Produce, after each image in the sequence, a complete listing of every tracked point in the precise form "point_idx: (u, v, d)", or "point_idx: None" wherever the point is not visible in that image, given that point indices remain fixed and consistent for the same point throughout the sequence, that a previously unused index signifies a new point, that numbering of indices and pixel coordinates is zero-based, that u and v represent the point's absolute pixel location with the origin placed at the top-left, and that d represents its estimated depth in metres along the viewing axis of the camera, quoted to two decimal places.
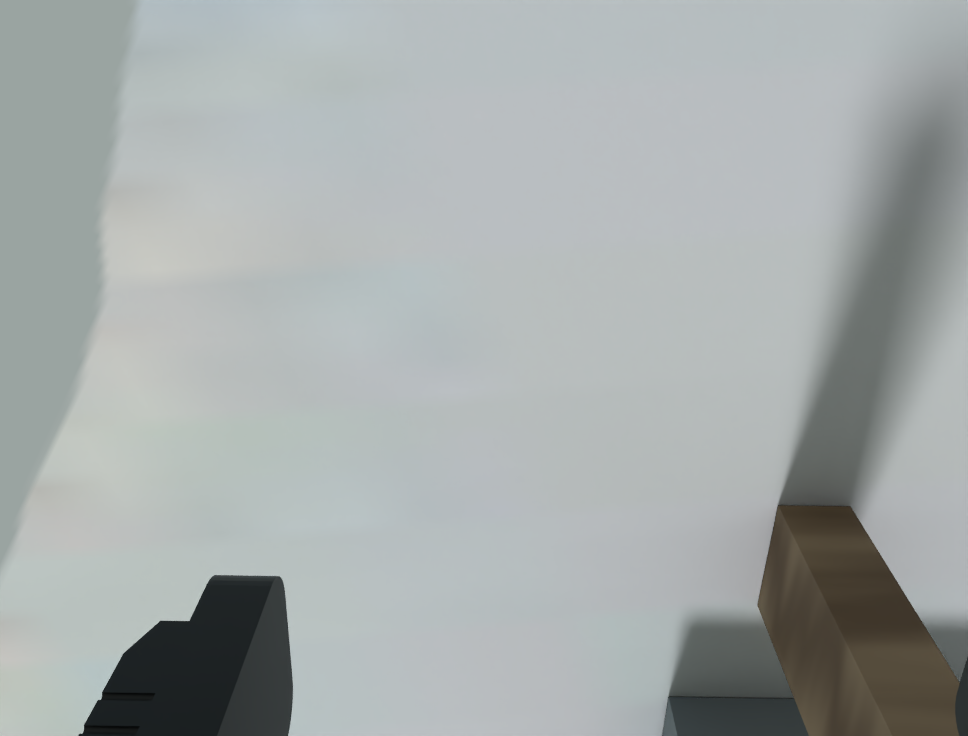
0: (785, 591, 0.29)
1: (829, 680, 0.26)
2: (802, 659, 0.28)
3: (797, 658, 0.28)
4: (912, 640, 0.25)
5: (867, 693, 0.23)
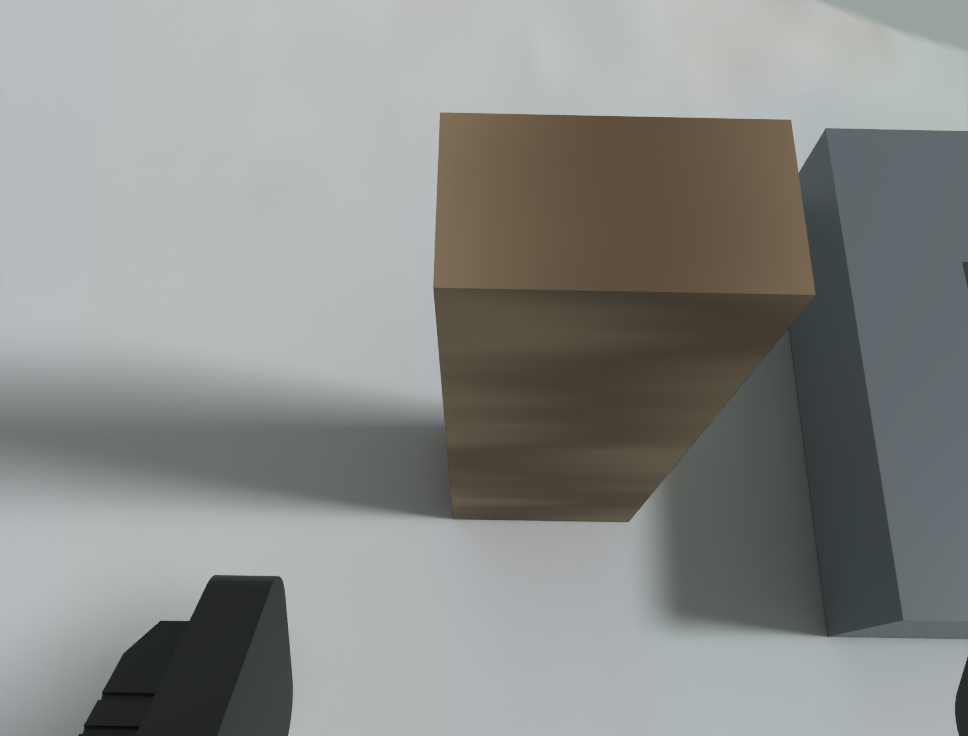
0: (539, 502, 0.20)
1: (542, 453, 0.17)
2: (584, 478, 0.18)
3: (598, 483, 0.19)
4: None
5: (455, 419, 0.15)
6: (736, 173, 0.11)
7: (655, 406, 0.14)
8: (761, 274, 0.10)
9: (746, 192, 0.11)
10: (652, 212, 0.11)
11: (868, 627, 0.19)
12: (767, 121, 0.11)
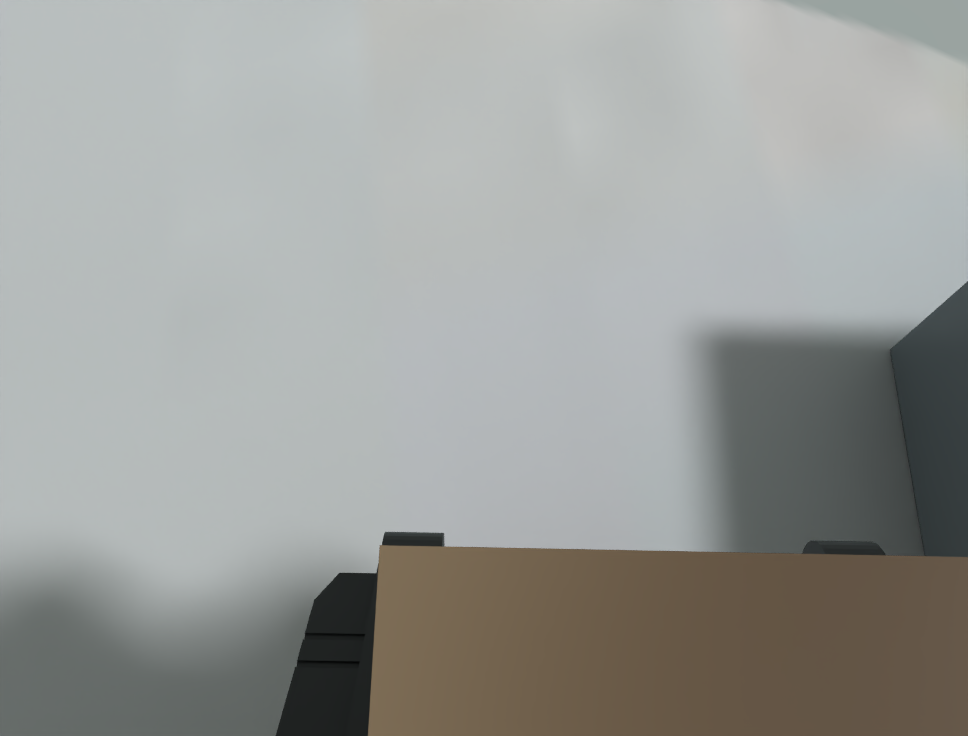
0: None
1: None
2: None
3: None
4: None
5: None
6: None
7: None
8: None
9: None
10: None
11: None
12: None
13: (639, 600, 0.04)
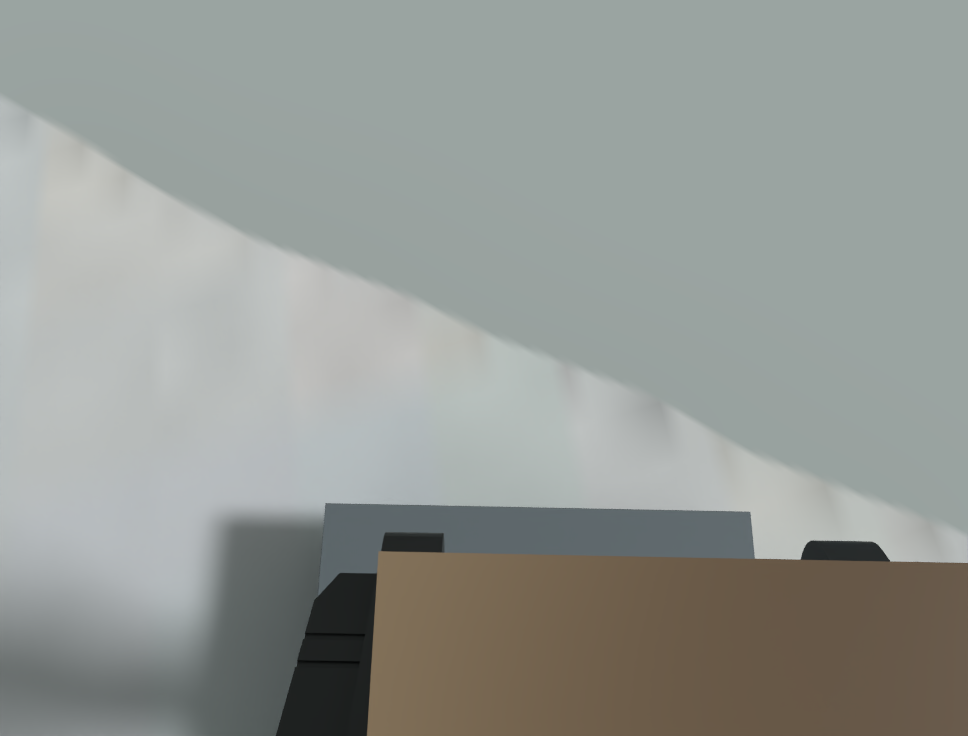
0: None
1: None
2: None
3: None
4: None
5: None
6: None
7: None
8: None
9: None
10: None
11: None
12: None
13: (640, 606, 0.04)
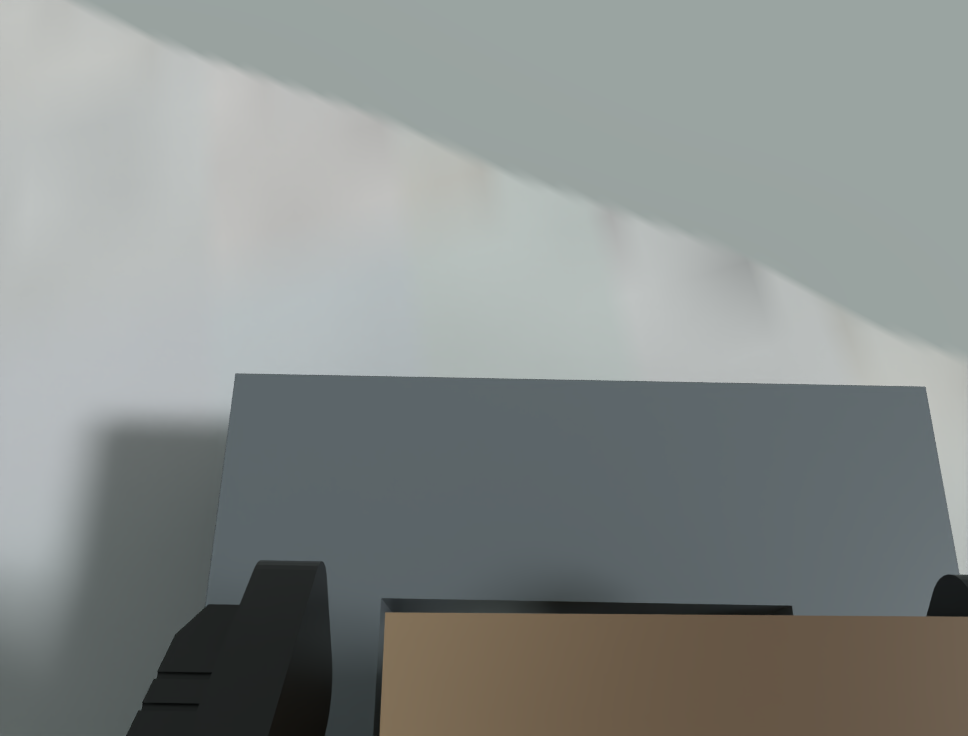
0: None
1: None
2: None
3: None
4: None
5: None
6: None
7: None
8: None
9: None
10: None
11: None
12: None
13: (602, 656, 0.05)
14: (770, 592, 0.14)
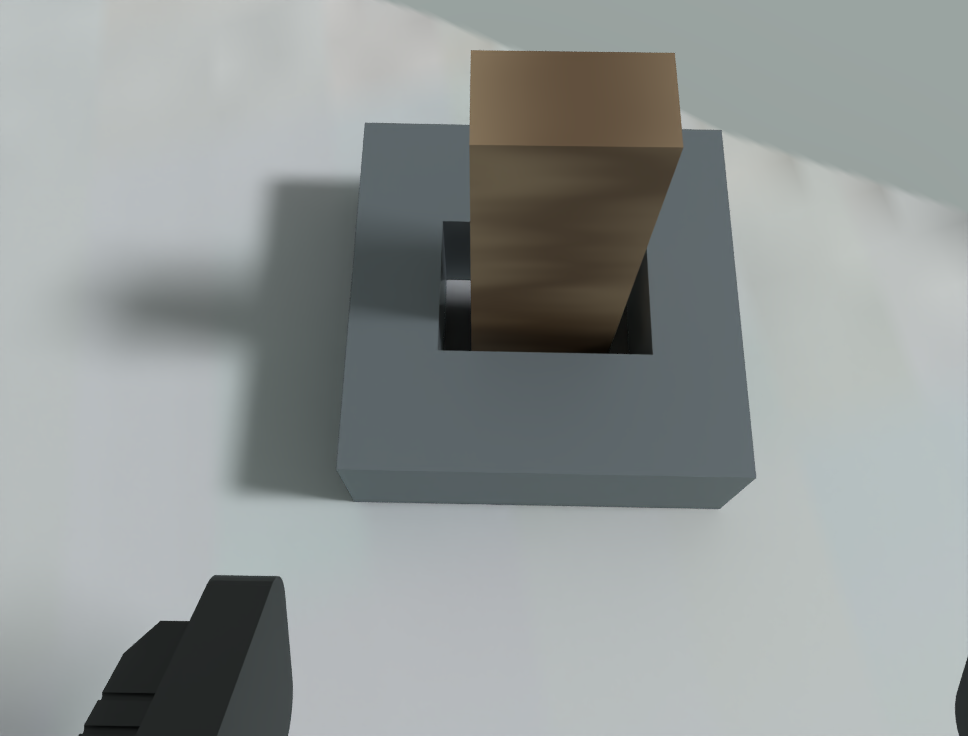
0: (534, 350, 0.29)
1: (535, 293, 0.25)
2: (564, 321, 0.26)
3: (574, 326, 0.27)
4: None
5: (477, 259, 0.23)
6: (641, 82, 0.19)
7: (605, 244, 0.22)
8: (653, 136, 0.18)
9: (646, 93, 0.19)
10: (593, 104, 0.19)
11: (344, 483, 0.27)
12: (661, 54, 0.19)
13: (527, 59, 0.19)
14: None
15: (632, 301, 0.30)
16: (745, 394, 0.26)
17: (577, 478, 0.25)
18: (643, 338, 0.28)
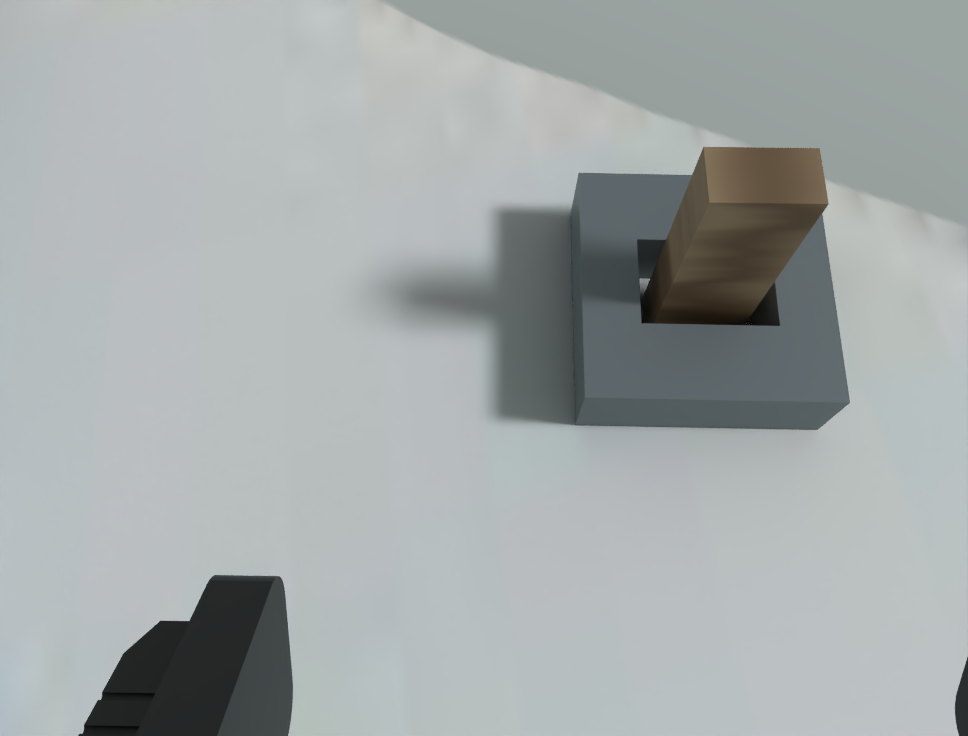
0: None
1: (711, 286, 0.39)
2: (723, 304, 0.41)
3: (728, 308, 0.41)
4: (668, 246, 0.40)
5: (684, 265, 0.38)
6: (802, 166, 0.34)
7: (765, 256, 0.37)
8: (811, 197, 0.33)
9: (805, 172, 0.33)
10: (775, 178, 0.33)
11: (581, 409, 0.41)
12: (811, 149, 0.34)
13: (736, 152, 0.34)
14: None
15: None
16: (840, 351, 0.41)
17: (735, 403, 0.40)
18: (769, 316, 0.43)
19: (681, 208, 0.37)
